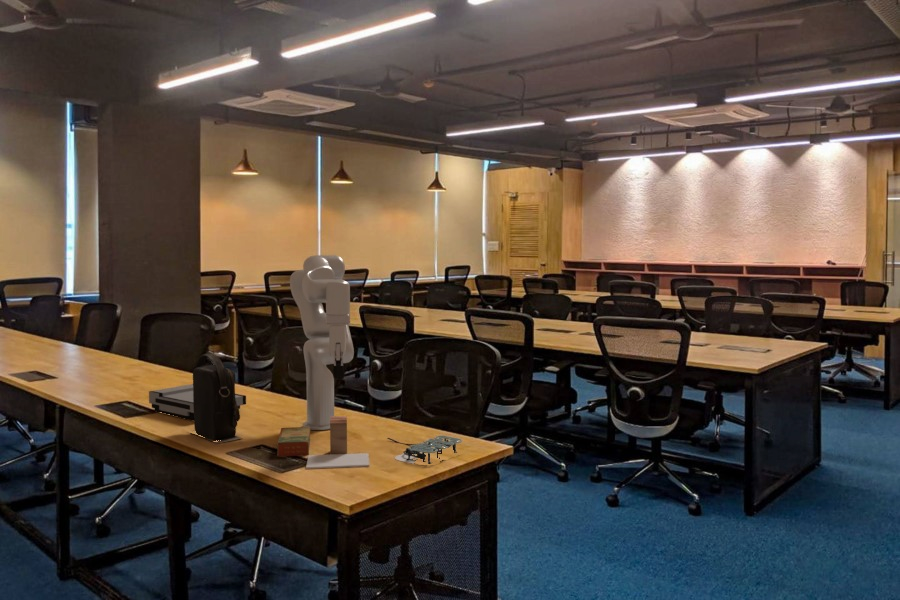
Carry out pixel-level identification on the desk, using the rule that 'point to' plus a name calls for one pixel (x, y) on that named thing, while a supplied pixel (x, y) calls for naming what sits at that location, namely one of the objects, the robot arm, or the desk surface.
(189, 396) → the game console
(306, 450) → the carton
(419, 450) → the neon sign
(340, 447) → the walnut block
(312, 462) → the grey mat
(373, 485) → the desk surface
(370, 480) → the desk surface
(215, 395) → the shoulder bag
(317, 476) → the desk surface
